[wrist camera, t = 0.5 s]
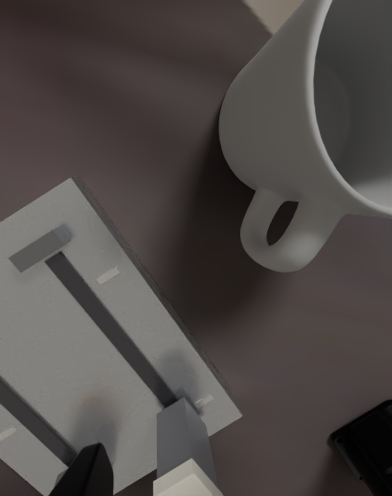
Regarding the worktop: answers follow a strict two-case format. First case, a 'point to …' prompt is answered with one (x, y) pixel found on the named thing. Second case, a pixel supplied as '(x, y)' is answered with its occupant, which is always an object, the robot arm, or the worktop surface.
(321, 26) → the mug
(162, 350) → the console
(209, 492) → the cream fader
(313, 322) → the worktop surface
